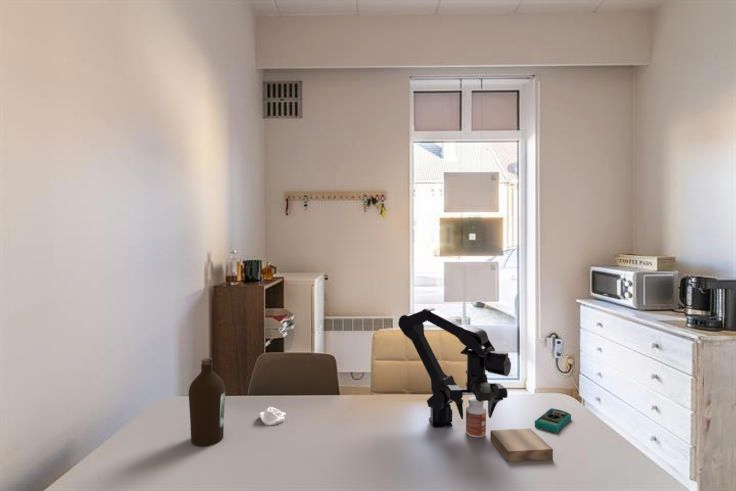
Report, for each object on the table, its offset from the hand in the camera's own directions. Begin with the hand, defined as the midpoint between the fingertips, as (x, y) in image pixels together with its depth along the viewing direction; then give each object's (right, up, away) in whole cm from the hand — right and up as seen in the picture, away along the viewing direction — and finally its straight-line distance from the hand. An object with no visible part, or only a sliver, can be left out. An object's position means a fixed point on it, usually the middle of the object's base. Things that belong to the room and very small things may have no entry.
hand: (475, 418), depth 136 cm
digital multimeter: (+28, -6, +8) cm, 30 cm away
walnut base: (+11, -5, -10) cm, 15 cm away
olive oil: (-84, -5, -4) cm, 84 cm away
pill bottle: (0, -5, 0) cm, 5 cm away
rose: (-67, -5, +11) cm, 68 cm away
